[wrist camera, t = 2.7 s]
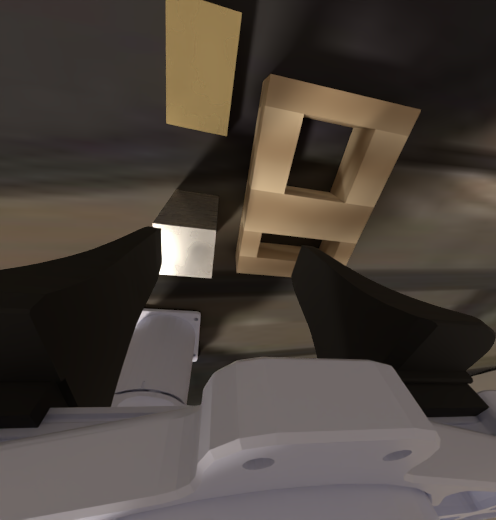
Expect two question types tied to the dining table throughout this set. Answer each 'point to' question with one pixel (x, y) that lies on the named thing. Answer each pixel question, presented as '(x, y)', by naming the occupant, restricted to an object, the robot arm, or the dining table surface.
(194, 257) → the square bit
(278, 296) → the dining table surface
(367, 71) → the dining table surface
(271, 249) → the socket block
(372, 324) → the robot arm
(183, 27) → the tan rectangular block
